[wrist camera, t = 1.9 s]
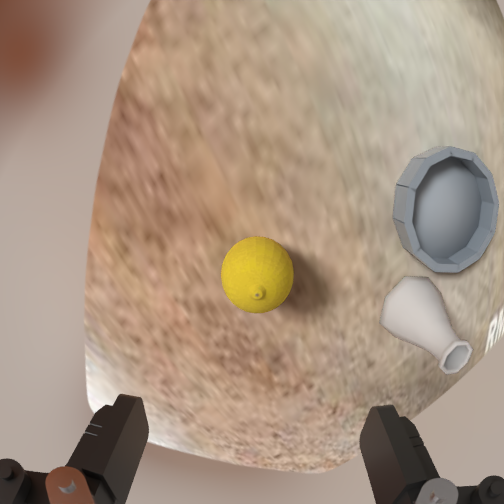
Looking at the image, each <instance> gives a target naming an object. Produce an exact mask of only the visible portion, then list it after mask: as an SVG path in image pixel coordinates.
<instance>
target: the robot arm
mask: <svg viewBox="0 0 504 504" xmlns="http://www.w3.org/2000/svg"><path fill="white" fill-rule="evenodd" d="M148 434H149V426H148V421H147V417H146V413H145V409H144V405H143V401H142V398H141V397H136V396H130V395H125V394H120V395H119V396H118V397H117V399H116V401H115V403H114V404H113V406H110V405H105V406H103V407H102V408H101V409H99V410H98V411H97V412H96V413H95V414H94V416H93V418H92V420H91V421H90V425H88V427H87V428H86V430H85V434H83V436H82V437H81V439H80V442H79V443H78V445H77V447H76V448H75V450H74V452H73V454H72V456H71V457H70V459H69V461H68V463H67V464H66V465H65V466H61V467H57V468H55V469H53V470H52V471H51V472H50V473H40V472H33V471H26V470H24V469H23V468H22V466H21V465H20V464H19V463H18V462H17V461H15V460H12V459H1V460H0V504H125V502H126V500H127V497H128V494H129V491H130V488H131V485H132V482H133V479H134V476H135V474H136V471H137V468H138V465H139V462H140V459H141V457H142V454H143V451H144V448H145V445H146V443H147V440H148ZM360 449H361V453H362V456H363V459H364V463H365V466H366V469H367V473H368V477H369V480H370V483H371V487H372V491H373V494H374V498H375V501H376V504H504V479H503V478H502V477H499V476H489V477H486V478H485V479H484V480H483V481H482V482H481V483H480V484H479V485H478V486H463V487H456V486H455V485H454V484H453V483H452V482H451V481H449V480H447V479H444V478H440V476H439V474H438V472H437V470H436V468H435V466H434V464H433V462H432V460H431V458H430V455H429V453H428V451H427V449H426V447H425V446H424V443H423V441H422V439H421V437H420V435H419V433H418V431H417V429H416V427H415V425H414V424H413V423H412V422H411V421H410V420H409V419H407V418H406V417H405V416H404V417H399V415H398V413H397V411H396V409H395V407H394V406H393V405H384V406H375V407H372V408H371V409H370V411H369V414H368V417H367V419H366V422H365V424H364V427H363V429H362V432H361V434H360Z"/></svg>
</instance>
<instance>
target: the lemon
mask: <svg viewBox="0 0 504 504" xmlns="http://www.w3.org/2000/svg"><path fill="white" fill-rule="evenodd" d="M293 275H294V270H293V265H292V261H291V259H290V257H289V255H288V253H287V252H286V250H285V249H284V248H283V247H282V246H281V245H280V244H278V243H277V242H275V241H274V240H272V239H269V238H266V237H257V236H255V237H249V238H246V239H244V240H241V241H239V242H238V243H237V244H235V245H234V246H233V247H232V248H231V249H230V251H229V252H228V253H227V255H226V256H225V259H224V261H223V264H222V271H221V279H222V285H223V288H224V291H225V293H226V295H227V297H228V298H229V299H230V301H231V302H232V303H233V304H234V305H236V306H237V307H238V308H240V309H242V310H244V311H246V312H250V313H264V312H268V311H271V310H273V309H275V308H277V307H278V306H279V305H280V304H281V303H283V302H284V300H285V299H286V297H287V296H288V294H289V293H290V290H291V287H292V284H293Z"/></svg>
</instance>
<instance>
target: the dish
mask: <svg viewBox="0 0 504 504" xmlns="http://www.w3.org/2000/svg"><path fill="white" fill-rule="evenodd" d="M498 208H499V200H498V196H497V191H496V187H495V183H494V179H493V176H492V173H491V172H490V171H489V170H488V168H487V167H486V166H485V165H484V163H483V162H482V161H481V160H480V159H479V157H478V156H477V155H476V154H475V153H473V152H470V151H466V150H462V149H459V148H455V147H451V146H445V147H434V148H432V149H430V150H428V151H426V152H424V153H422V154H420V155H417V156H415V157H413V158H412V159H411V161H410V163H409V164H408V166H407V168H406V169H405V171H404V172H403V174H402V176H401V177H400V179H399V180H398V182H397V185H396V190H395V200H394V209H393V221H394V223H395V226H396V229H397V232H398V235H399V238H400V240H401V243H402V246H403V248H405V249H406V250H407V251H408V252H409V253H411V254H412V255H413V256H414V257H415V258H417V259H418V260H419V261H420V262H421V263H423V264H424V265H425V266H427V267H428V268H430V269H431V270H433V271H434V272H457V273H458V272H460V271H462V270H463V269H465V268H466V267H468V266H469V265H471V264H472V263H474V262H475V261H477V260H478V259H480V258H481V256H482V254H483V253H484V251H485V249H486V248H487V246H488V244H489V243H490V241H491V239H492V237H493V236H494V233H495V229H496V223H497V216H498Z"/></svg>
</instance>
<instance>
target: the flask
mask: <svg viewBox="0 0 504 504" xmlns="http://www.w3.org/2000/svg"><path fill="white" fill-rule="evenodd" d="M379 323H380V324H381V325H382V326H383V327H384V328H385V329H386V330H387V331H389V332H390V333H391V334H392V335H393V336H394V337H396V338H398V339H401V340H403V341H406V342H409V343H411V344H414V345H416V346H418V347H420V348H422V349H425V350H427V351H428V352H430V353H431V354H432V355H434V356H435V357H436V358H437V359H438V361H439V363H438V366H439V368H440V369H441V370H442V371H443V372H444V373H445V374H446V375H447V374H454V373H458V372H459V371H460V370H461V369H462V368H463V367H464V366H465V365H466V364H467V363H468V361H469V358H470V356H471V354H472V351H473V348H472V347H471V346H470V344H469V343H468V342H467V341H466V340H461V339H460V338H459V337H458V336H457V335H456V333H455V331H454V329H453V328H452V325H451V322H450V319H449V316H448V314H447V311H446V307H445V304H444V301H443V297H442V295H441V293H440V291H439V290H438V289H437V288H436V286H435V285H434V284H433V283H432V282H431V280H430V279H429V278H428V277H413V276H404V278H403V279H402V280H401V281H400V282H399V283H398V284H397V285H396V286H395V287H394V288H393V290H392V291H391V292H390V293H389V294H388V295H387V296H386V297H385V300H384V305H383V309H382V313H381V317H380V321H379Z"/></svg>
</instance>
